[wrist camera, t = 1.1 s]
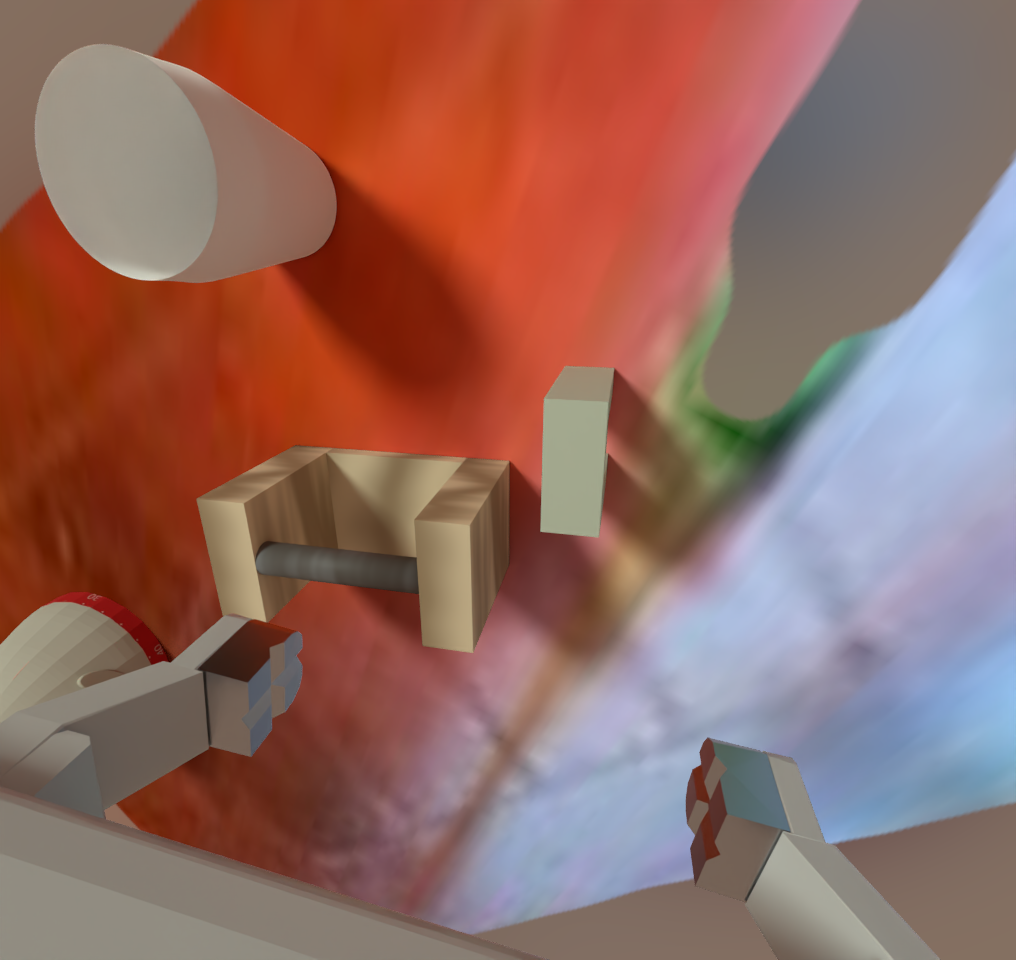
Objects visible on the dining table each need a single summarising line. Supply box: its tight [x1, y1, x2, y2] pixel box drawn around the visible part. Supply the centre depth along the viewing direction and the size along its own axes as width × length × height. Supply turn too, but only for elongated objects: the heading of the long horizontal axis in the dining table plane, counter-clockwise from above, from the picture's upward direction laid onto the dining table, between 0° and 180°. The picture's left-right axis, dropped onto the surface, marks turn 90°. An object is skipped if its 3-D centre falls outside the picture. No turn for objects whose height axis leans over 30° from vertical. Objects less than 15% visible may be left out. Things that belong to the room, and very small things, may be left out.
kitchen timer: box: [0, 592, 168, 723], centre depth 46 cm, size 14×14×15 cm
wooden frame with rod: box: [197, 445, 510, 653], centre depth 35 cm, size 16×8×10 cm, turn 90°
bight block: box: [540, 366, 614, 537], centre depth 31 cm, size 3×7×9 cm, turn 0°
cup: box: [35, 44, 337, 283], centre depth 28 cm, size 9×9×12 cm
